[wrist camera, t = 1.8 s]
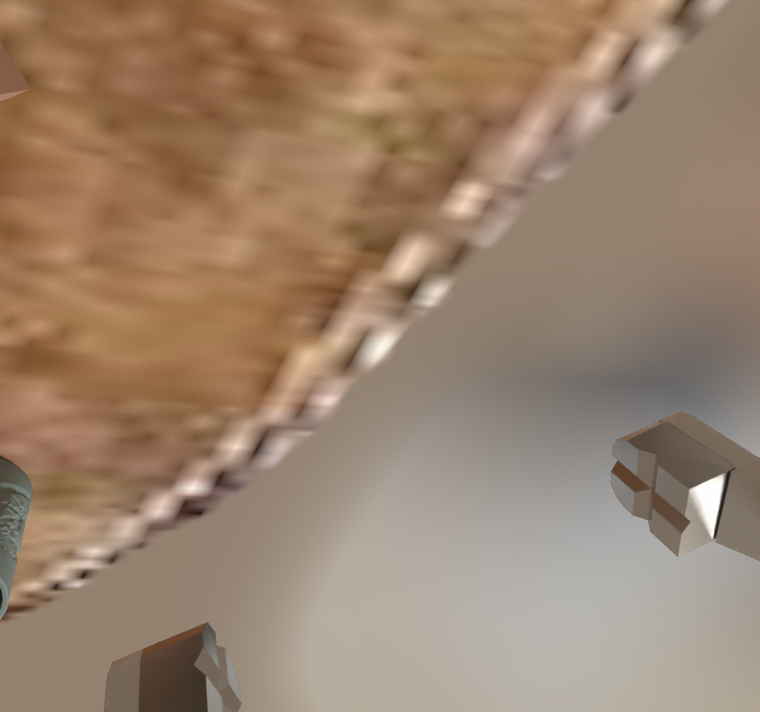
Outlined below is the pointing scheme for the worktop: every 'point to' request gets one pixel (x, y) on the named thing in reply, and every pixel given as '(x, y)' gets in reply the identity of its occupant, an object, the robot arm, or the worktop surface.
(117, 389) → the worktop surface
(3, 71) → the tan upright block
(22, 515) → the grey green cup
